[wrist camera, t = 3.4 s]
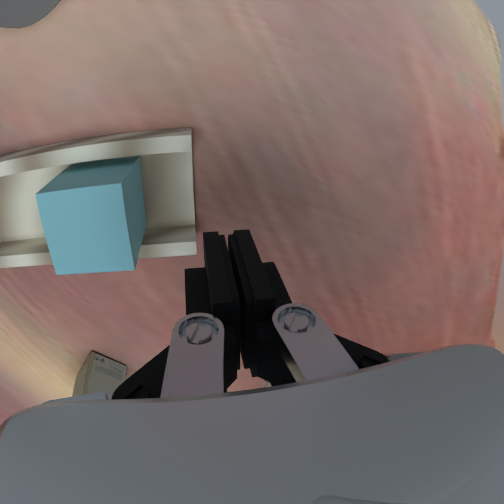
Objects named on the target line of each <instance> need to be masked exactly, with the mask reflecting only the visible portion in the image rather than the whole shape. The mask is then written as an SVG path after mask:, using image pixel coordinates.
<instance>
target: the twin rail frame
mask: <svg viewBox="0 0 504 504" xmlns="http://www.w3.org/2000/svg"><path fill="white" fill-rule="evenodd" d="M132 156H140V166H141V177H142V188H143V197H144V206H145V214H146V223H147V225H146V228H145V232H144V236H143V240H142V243H141V247H140V251H139V255H138V259H139V258H154V257H169V256H184V255H197V247H196V227H195V210H194V189H193V164H192V127H191V128H175V129H161V130H149V131H139V132H130V133H121V134H113V135H105V136H98V137H91V138H84V139H78V140H72V141H66V142H61V143H55V144H50V145H45V146H40V147H35V148H30V149H26V150H21V151H17V152H13V153H9V154H5V155H1V156H0V268H6V267H21V266H35V265H50V264H53V262H52V259H51V255H50V252H49V248H48V245H47V241H46V237H45V234H44V230H43V226H42V222H41V218H40V214H39V209H38V205H37V200H36V195H35V194H36V193H37V192H38V191H39V190H41V189H42V188H43V187H44V186H45V185H46V184H48V183H49V182H50V181H51V180H52V179H54V178H55V177H56V176H57V175H58V174H60V173H61V172H62V171H63V170H65V169H66V168H67V167H68V166H70V165H71V164H76V163H82V162H90V161H97V160H105V159H114V158H122V157H132Z"/></svg>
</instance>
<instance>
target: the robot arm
mask: <svg viewBox="0 0 504 504" xmlns="http://www.w3.org/2000/svg"><path fill="white" fill-rule="evenodd" d="M203 242H204V260H205V267H203V268H190V269H185V295H186V316H184V317H182V318H181V319H179V320H178V321H177V322H176V324H175V326H174V328H173V332H172V337H171V342H170V345H169V346H168V347H167V348H165V349H164V350H163V351H162V352H160V353H159V354H158V355H157V356H155V357H154V358H153V359H152V360H150V361H149V362H148V363H147V364H145V365H144V366H143V367H142V368H140V369H139V370H138V371H137V372H135V373H134V374H133V375H132V376H130V377H129V378H128V379H127V380H125V381H124V382H123V383H122V384H120V385H119V386H118V387H117V388H116V390H115V391H114V393H109V394H106V393H105V391H101V392H96V393H90V394H85V395H80V396H74V397H68V398H62V399H56V400H50V401H47V402H44V403H43V404H40V405H36V406H33V407H30V408H27V409H23V410H21V411H19V412H17V413H15V414H13V415H11V416H10V417H9V418H7V419H6V420H5V421H4V422H3V423H2V425H1V426H0V504H504V355H503V354H502V353H501V352H500V351H498V350H497V349H495V348H493V347H490V346H485V345H478V344H462V345H454V346H448V347H443V348H439V349H435V350H431V351H427V352H420V353H403V354H390V355H389V357H385V356H384V355H383V354H381V353H379V352H377V351H375V350H372V349H370V348H367V347H365V346H362V345H360V344H357V343H355V342H353V341H350V340H348V339H345V338H343V337H341V336H338V335H336V334H333V333H332V331H331V330H330V329H329V327H328V326H327V325H326V323H325V322H324V321H323V319H322V318H321V316H320V315H319V314H318V313H317V312H316V311H315V310H314V309H313V308H311V307H309V306H306V305H303V304H297V303H292V301H291V299H290V297H289V295H288V292H287V290H286V288H285V286H284V283H283V281H282V279H281V277H280V274H279V272H278V270H277V268H276V265H275V264H274V262H266V263H262V261H261V259H260V256H259V254H258V251H257V248H256V246H255V243H254V241H253V238H252V236H251V233H250V231H249V230H234V233H233V234H231V235H228V249H227V245H226V241H225V237H224V235H219V234H218V232H203ZM240 351H241V356H242V360H243V365H244V368H245V369H247V368H250V370H251V374H252V377H257V376H258V377H260V378H262V379H264V380H266V387H265V388H258V389H250V390H243V391H235V392H227V388H228V387H229V386H230V385H231V384H232V383H233V382H234V381H235V380H236V379H237V370H239V369H240Z"/></svg>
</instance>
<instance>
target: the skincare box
mask: <svg viewBox="0 0 504 504" xmlns="http://www.w3.org/2000/svg"><path fill="white" fill-rule="evenodd" d="M126 370H127V367H126V366H125V365H122V364H120V363H118V362H115V361H113V360H111V359H108V358H106V357H104V356H101V355H99V354H97V353H94V352H91V353H90V354H89V356H88V357H87V359H86V361H85V363H84V364H83V366H82V368H81V370H80V372H79V374H78V375H77V377H76V381H75V386H74V391H73V396H72V397H74V396H80V395H85V394H90V393H96V392H101V391H105V393H106V394H109V393H114V391H115V390H116V388H117V387H118V386H119V385H120V384H122V383H123V382H124V381H125V379H126Z"/></svg>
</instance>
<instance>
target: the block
mask: <svg viewBox="0 0 504 504" xmlns="http://www.w3.org/2000/svg"><path fill="white" fill-rule="evenodd" d="M35 195H36V200H37V205H38V209H39V214H40V218H41V222H42V226H43V230H44V234H45V237H46V241H47V245H48V248H49V252H50V255H51V259H52V262H53V265H54V268H55V272H56V275H61V274H78V273H95V272H112V271H128V270H135V267H136V263H137V259H138V255H139V251H140V247H141V243H142V240H143V236H144V232H145V228H146V225H147V223H146V214H145V206H144V197H143V188H142V177H141V166H140V156H132V157H122V158H114V159H105V160H97V161H90V162H82V163H76V164H71V165H70V166H68V167H67V168H66V169H65V170H63V171H62V172H61V173H60V174H58V175H57V176H56V177H55V178H54V179H52V180H51V181H50V182H49V183H48V184H46V185H45V186H44V187H43V188H42V189H41V190H39V191H38V192H37V193H36V194H35Z"/></svg>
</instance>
